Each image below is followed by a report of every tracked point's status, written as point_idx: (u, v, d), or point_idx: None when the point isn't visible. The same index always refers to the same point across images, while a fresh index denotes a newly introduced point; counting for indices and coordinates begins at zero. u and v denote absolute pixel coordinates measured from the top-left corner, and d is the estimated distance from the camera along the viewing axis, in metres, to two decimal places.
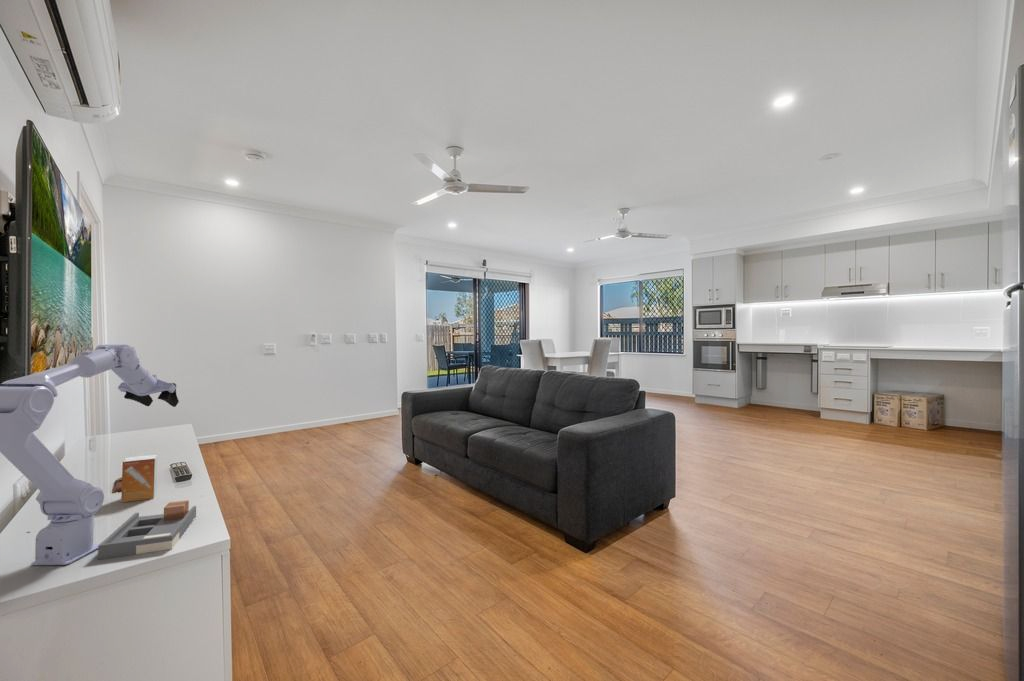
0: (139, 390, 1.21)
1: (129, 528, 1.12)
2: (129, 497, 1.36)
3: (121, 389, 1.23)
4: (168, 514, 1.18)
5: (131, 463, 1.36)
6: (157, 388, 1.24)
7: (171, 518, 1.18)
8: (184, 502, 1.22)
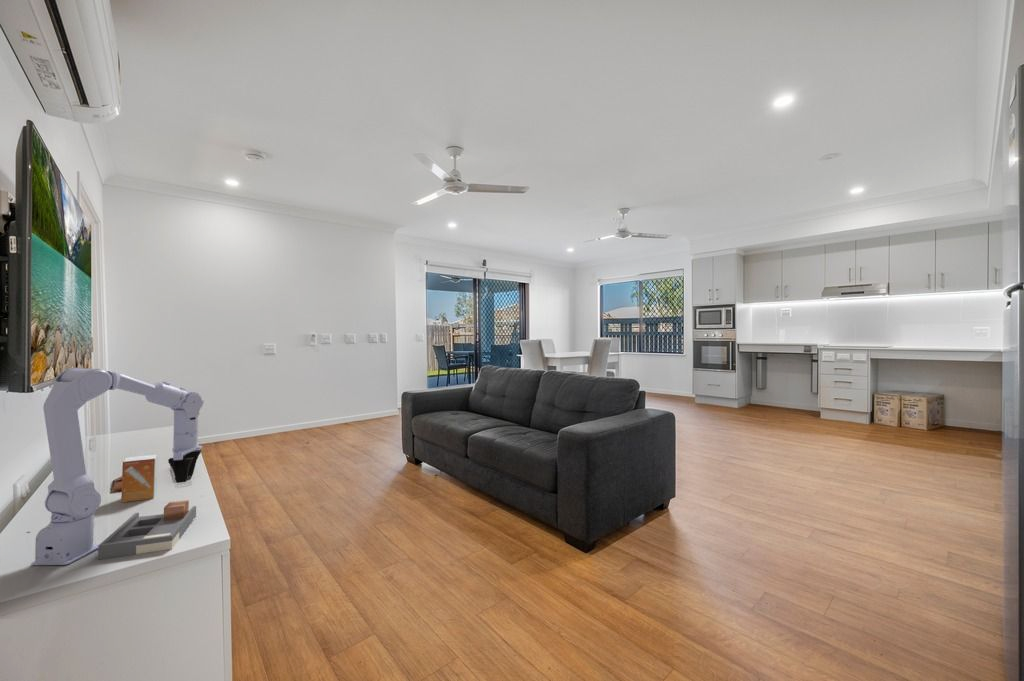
0: (173, 443, 1.26)
1: (129, 528, 1.12)
2: (129, 497, 1.36)
3: None
4: (168, 514, 1.18)
5: (131, 463, 1.36)
6: None
7: (171, 518, 1.18)
8: (184, 502, 1.22)
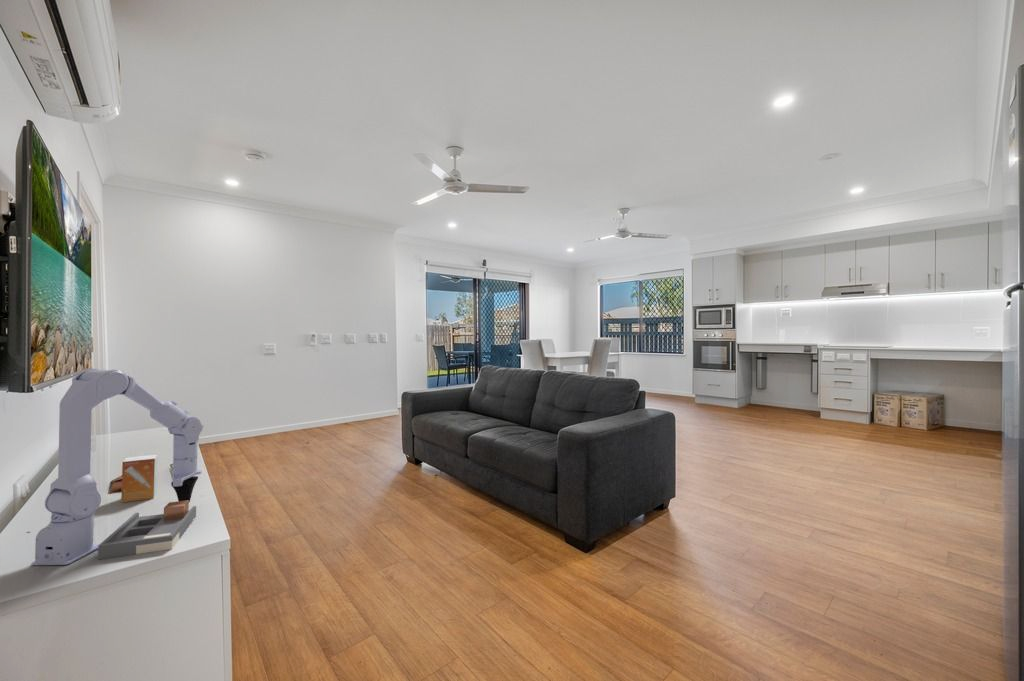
0: None
1: (129, 528, 1.12)
2: (129, 497, 1.36)
3: None
4: (168, 514, 1.18)
5: (131, 463, 1.36)
6: (178, 477, 1.24)
7: (171, 518, 1.18)
8: (184, 502, 1.22)
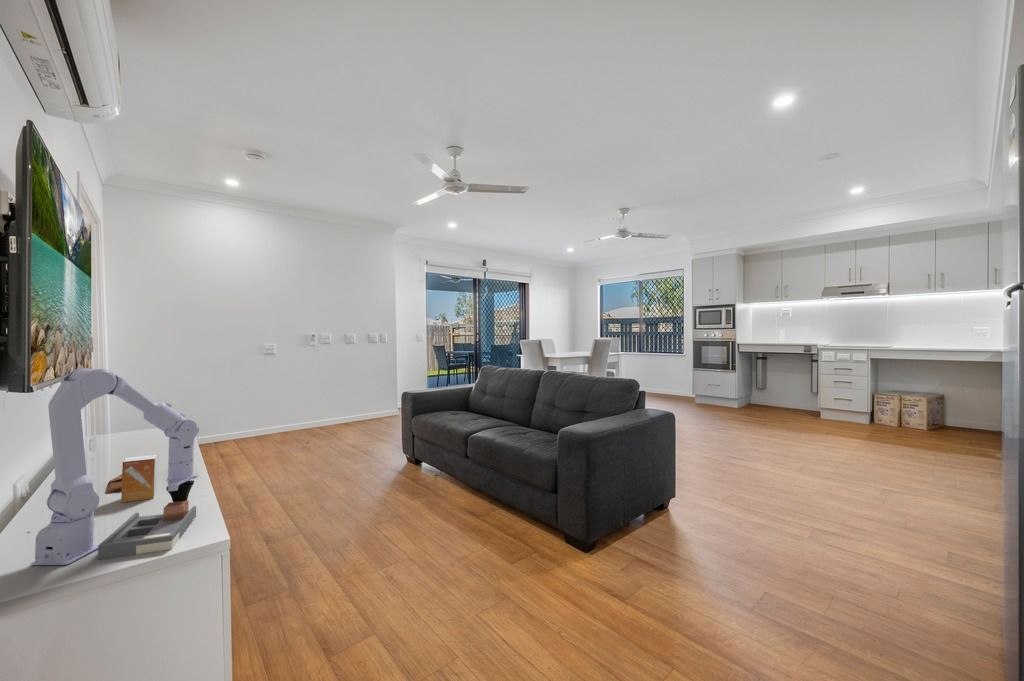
0: (168, 472, 1.22)
1: (129, 528, 1.12)
2: (129, 497, 1.36)
3: None
4: (168, 514, 1.18)
5: (131, 463, 1.36)
6: None
7: (171, 518, 1.18)
8: (184, 502, 1.22)
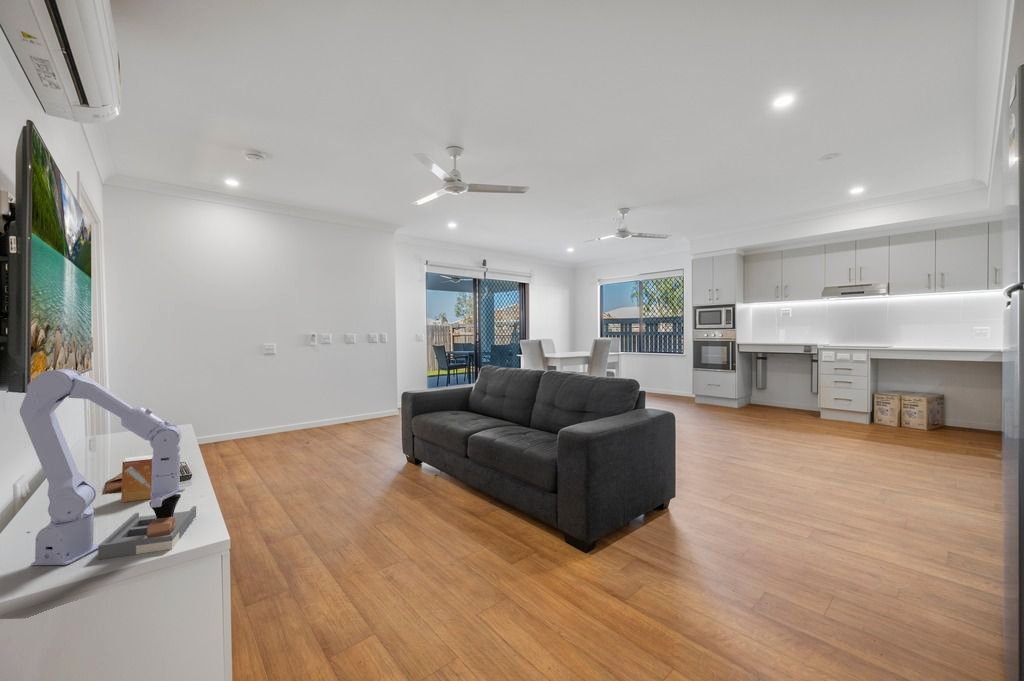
0: None
1: (129, 528, 1.12)
2: (129, 497, 1.36)
3: None
4: (152, 532, 1.06)
5: (131, 463, 1.36)
6: (158, 496, 1.09)
7: None
8: (170, 519, 1.10)
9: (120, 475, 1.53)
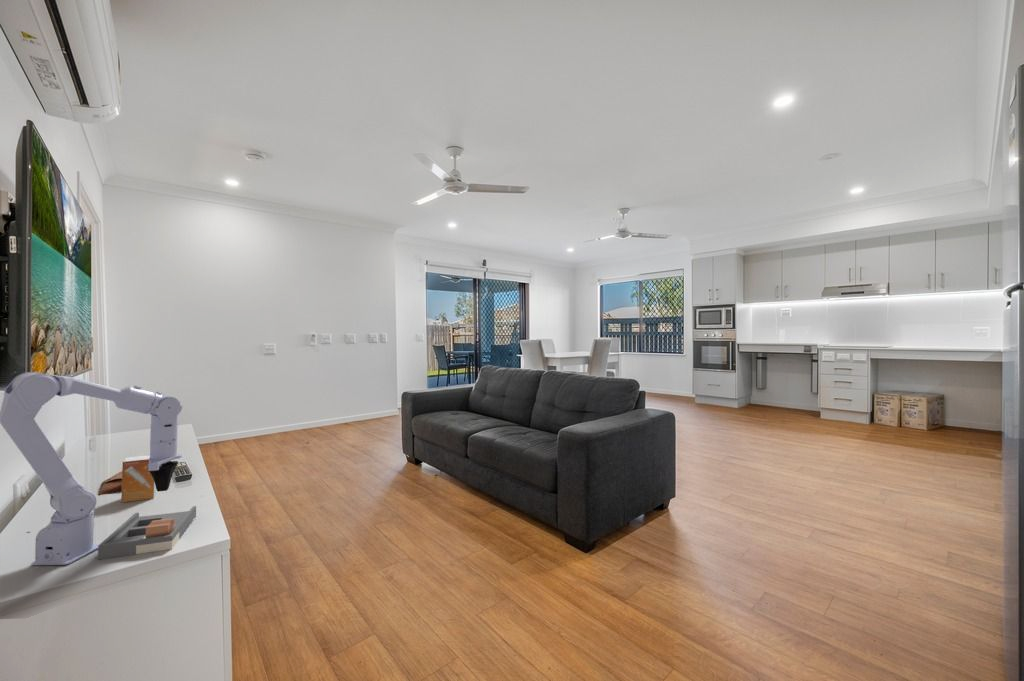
0: (150, 452, 1.16)
1: (129, 528, 1.12)
2: (129, 497, 1.36)
3: None
4: (150, 534, 1.05)
5: (131, 463, 1.36)
6: (155, 461, 1.14)
7: None
8: (169, 520, 1.09)
9: (116, 475, 1.52)
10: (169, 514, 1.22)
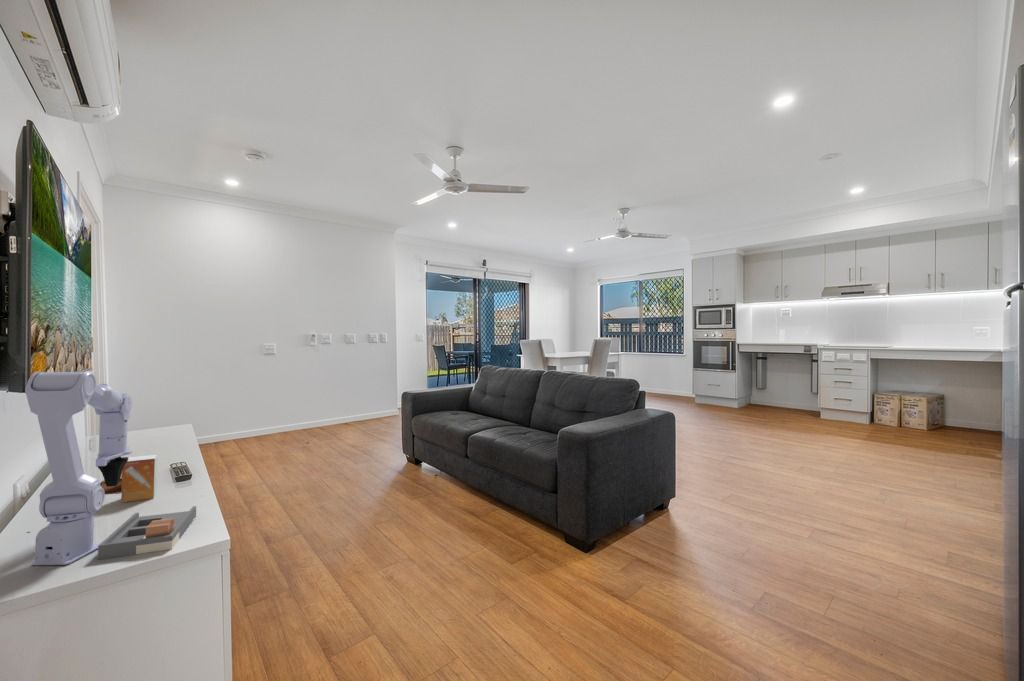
0: (99, 448, 1.19)
1: (129, 528, 1.12)
2: (129, 497, 1.36)
3: None
4: (150, 534, 1.05)
5: (131, 463, 1.36)
6: (104, 457, 1.17)
7: None
8: (169, 520, 1.09)
9: None
10: (169, 514, 1.22)
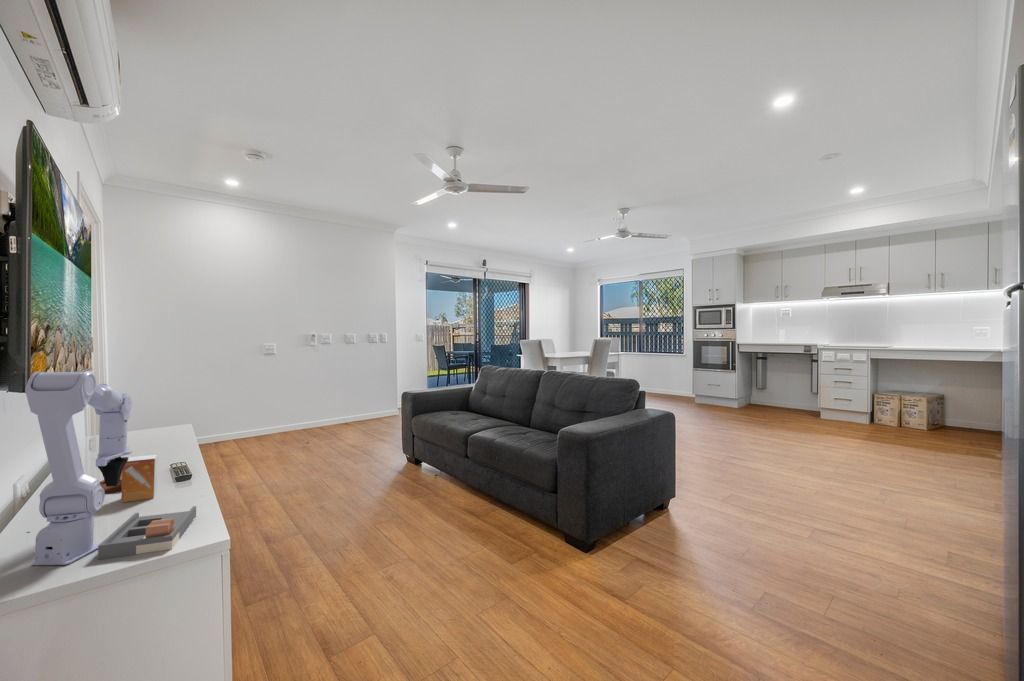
0: (99, 448, 1.19)
1: (129, 528, 1.12)
2: (129, 497, 1.36)
3: None
4: (150, 534, 1.05)
5: (131, 463, 1.36)
6: (104, 457, 1.17)
7: None
8: (169, 520, 1.09)
9: None
10: (169, 514, 1.22)
